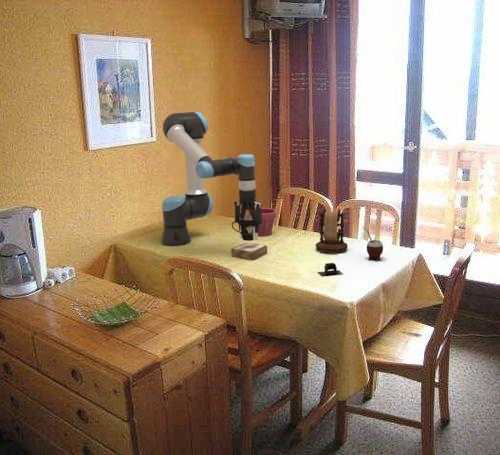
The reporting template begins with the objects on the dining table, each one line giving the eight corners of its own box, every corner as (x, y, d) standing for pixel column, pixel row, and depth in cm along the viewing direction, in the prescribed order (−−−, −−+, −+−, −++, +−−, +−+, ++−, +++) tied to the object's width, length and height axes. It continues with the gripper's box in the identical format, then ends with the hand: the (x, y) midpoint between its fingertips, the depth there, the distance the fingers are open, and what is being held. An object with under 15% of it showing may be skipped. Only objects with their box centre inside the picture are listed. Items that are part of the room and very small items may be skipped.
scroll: (312, 253, 235) (312, 211, 230) (319, 244, 248) (319, 204, 243) (344, 255, 230) (345, 212, 225) (349, 246, 243) (350, 205, 238)
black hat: (318, 279, 204) (318, 268, 203) (313, 272, 211) (313, 262, 210) (347, 276, 206) (348, 265, 205) (341, 270, 213) (341, 260, 212)
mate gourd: (386, 259, 223) (387, 226, 219) (372, 263, 219) (373, 229, 215) (374, 255, 229) (375, 223, 225) (360, 258, 225) (361, 226, 222)
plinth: (231, 256, 234) (231, 248, 233) (246, 249, 244) (245, 241, 243) (253, 260, 227) (253, 252, 226) (267, 253, 237) (267, 245, 236)
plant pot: (280, 232, 272) (280, 209, 269) (268, 238, 261) (267, 214, 258) (257, 229, 280) (257, 206, 276) (244, 235, 268) (243, 212, 265)
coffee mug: (261, 236, 236) (260, 216, 234) (255, 242, 228) (254, 220, 226) (238, 235, 240) (237, 214, 237) (231, 240, 232) (230, 219, 230)
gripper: (225, 189, 230) (227, 238, 236) (260, 192, 219) (262, 243, 225) (234, 186, 236) (236, 234, 242) (269, 189, 225) (271, 239, 231)
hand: (249, 238), depth 233 cm, fingers closed on coffee mug, 6 cm apart
